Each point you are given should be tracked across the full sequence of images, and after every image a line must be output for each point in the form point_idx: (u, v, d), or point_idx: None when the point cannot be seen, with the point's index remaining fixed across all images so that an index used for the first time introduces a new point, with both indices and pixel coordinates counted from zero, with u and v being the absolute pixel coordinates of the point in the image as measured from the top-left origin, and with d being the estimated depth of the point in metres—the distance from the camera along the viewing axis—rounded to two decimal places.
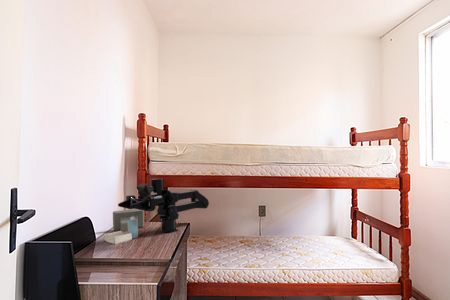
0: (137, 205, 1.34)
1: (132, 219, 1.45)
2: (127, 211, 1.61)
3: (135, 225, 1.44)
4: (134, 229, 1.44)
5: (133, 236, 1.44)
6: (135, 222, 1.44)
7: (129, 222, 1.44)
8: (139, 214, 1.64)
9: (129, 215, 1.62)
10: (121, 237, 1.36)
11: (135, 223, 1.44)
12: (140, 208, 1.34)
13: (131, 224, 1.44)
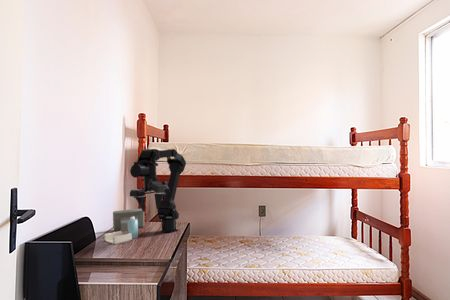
0: None
1: (132, 219, 1.45)
2: (127, 211, 1.61)
3: (135, 225, 1.44)
4: (134, 229, 1.44)
5: (133, 236, 1.44)
6: (135, 222, 1.44)
7: (129, 222, 1.44)
8: (139, 214, 1.64)
9: (129, 215, 1.62)
10: (121, 237, 1.36)
11: (135, 223, 1.44)
12: None
13: (131, 224, 1.44)
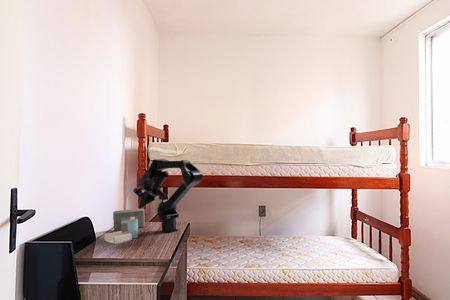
0: (144, 202, 1.49)
1: (132, 219, 1.45)
2: (127, 211, 1.61)
3: (135, 225, 1.44)
4: (134, 229, 1.44)
5: (133, 236, 1.44)
6: (135, 222, 1.44)
7: (129, 222, 1.44)
8: (139, 214, 1.64)
9: (129, 215, 1.62)
10: (121, 237, 1.36)
11: (135, 223, 1.44)
12: (148, 202, 1.51)
13: (131, 224, 1.44)
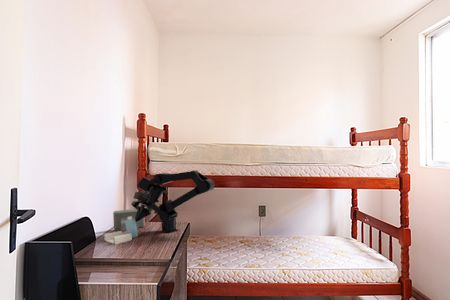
0: (139, 216, 1.48)
1: (129, 219, 1.44)
2: (127, 211, 1.62)
3: (133, 225, 1.44)
4: (133, 229, 1.43)
5: (133, 236, 1.43)
6: (132, 222, 1.43)
7: (127, 223, 1.43)
8: None
9: (129, 215, 1.62)
10: (121, 237, 1.36)
11: (133, 223, 1.44)
12: (143, 216, 1.49)
13: (129, 224, 1.43)
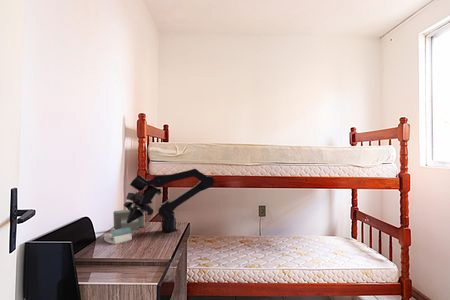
0: (132, 218, 1.45)
1: (112, 237, 1.37)
2: (128, 211, 1.62)
3: (119, 235, 1.38)
4: None
5: None
6: (117, 235, 1.38)
7: None
8: None
9: None
10: (121, 237, 1.36)
11: (117, 235, 1.38)
12: (136, 217, 1.46)
13: None
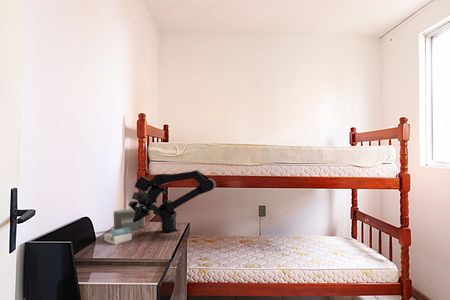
0: (138, 217, 1.46)
1: (112, 237, 1.37)
2: (128, 211, 1.62)
3: (119, 235, 1.38)
4: None
5: None
6: (117, 235, 1.37)
7: None
8: None
9: (130, 215, 1.63)
10: (121, 237, 1.36)
11: (117, 235, 1.38)
12: (142, 217, 1.48)
13: None
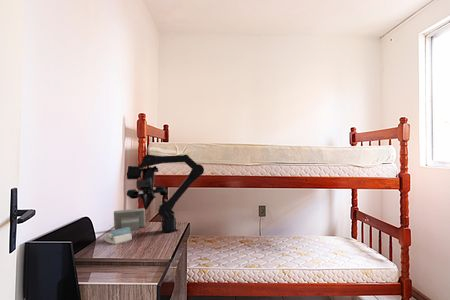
0: (148, 203, 1.46)
1: (112, 237, 1.37)
2: (128, 211, 1.62)
3: (119, 235, 1.38)
4: None
5: None
6: (117, 235, 1.38)
7: None
8: (140, 214, 1.64)
9: (130, 215, 1.63)
10: (121, 237, 1.36)
11: (117, 235, 1.38)
12: (150, 201, 1.48)
13: None
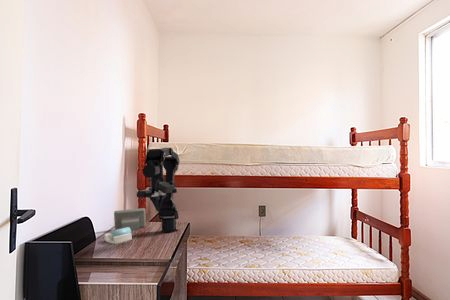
0: None
1: (112, 237, 1.37)
2: (128, 211, 1.62)
3: (119, 235, 1.38)
4: None
5: None
6: (117, 235, 1.38)
7: None
8: (140, 214, 1.64)
9: (130, 215, 1.63)
10: (121, 237, 1.36)
11: (117, 235, 1.38)
12: None
13: None
